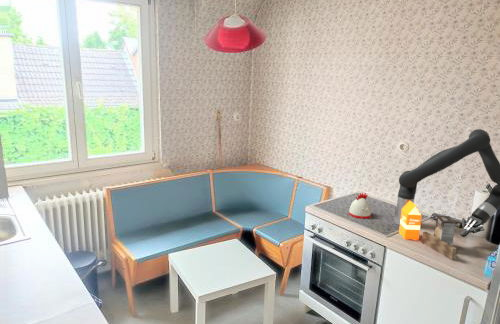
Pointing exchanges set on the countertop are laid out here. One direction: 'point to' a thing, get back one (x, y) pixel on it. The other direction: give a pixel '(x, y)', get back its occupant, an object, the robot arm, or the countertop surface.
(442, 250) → the walnut board
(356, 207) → the kitchen timer
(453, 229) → the coffee box
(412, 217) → the orange juice
